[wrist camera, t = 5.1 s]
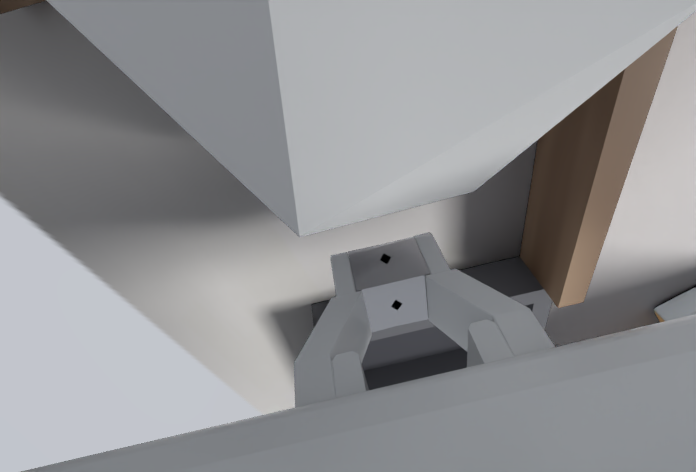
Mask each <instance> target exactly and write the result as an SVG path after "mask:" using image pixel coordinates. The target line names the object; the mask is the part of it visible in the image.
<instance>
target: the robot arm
mask: <svg viewBox="0 0 696 472" xmlns="http://www.w3.org/2000/svg"><path fill="white" fill-rule="evenodd" d="M348 255H349V256H348ZM331 266H332V272H333V278H334V285H335V291H336V297H333V298H331V300H330V301H329V303H328V305H327V307H326V308H325V310H324V312H323V313H322V315H321V317H320V319H319V320H318V322H317V324H316V326H315V327H314V329H313V331H312V333H311V334H310V336H309V338H308V340H307V341H306V343H305V345H304V347H303V348H302V350H301V352H300V354H299V355H298V357H297V359H296V360H295V362H294V378H295V408H291V409H287V410H283V411H278V412H274V413H270V414H266V415H261V416H257V417H253V418H249V419H244V420H240V421H236V422H231V423H227V424H223V425H219V426H214V427H210V428H206V429H201V430H197V431H193V432H188V433H184V434H180V435H176V436H171V437H167V438H163V439H158V440H154V441H150V442H146V443H141V444H137V445H133V446H128V447H124V448H120V449H115V450H111V451H107V452H103V453H98V454H94V455H90V456H86V457H81V458H77V459H73V460H68V461H64V462H60V463H56V464H51V465H47V466H43V467H38V468H34V469H30V470H26V471H21V472H696V314H694V315H690V316H686V317H681V318H677V319H673V320H668V321H664V322H660V323H655V324H651V325H647V326H643V327H638V328H634V329H630V330H625V331H621V332H617V333H613V334H608V335H604V336H600V337H595V338H591V339H587V340H583V341H578V342H574V343H570V344H565V345H561V346H557V347H555V346H554V344H553V343H552V341H551V340H550V338H549V337H548V335H547V334H546V332H545V331H544V329H543V328H542V326H541V325H540V323H539V322H538V320H537V319H536V317H535V316H534V314H533V313H532V311H531V310H530V308H528V307H526V306H524V305H522V304H521V303H519V302H517V301H515V300H513V299H511V298H509V297H507V296H506V295H504V294H502V293H500V292H498V291H496V290H494V289H493V288H491V287H489V286H487V285H485V284H483V283H481V282H480V281H478V280H476V279H474V278H472V277H470V276H468V275H467V274H465V273H463V272H461V271H459V270H457V269H452V270H450V268H449V266H448V264H447V262H446V260H445V258H444V256H443V254H442V252H441V250H440V248H439V246H438V244H437V242H436V240H435V239H434V237H433V235H432V234H431V233H430V232H428V233H425V234H421V235H417V236H413V237H410V238H406V239H402V240H397V241H393V242H389V243H385V244H381V245H377V246H372V247H367V248H362V249H358V250H353V251H348V252H345V253H340V254H336V255H331ZM427 319H429V321H430V322H431V323H433V324H434V325H435V326H436V327H437V328H439V329H440V330H441V331H442V332H444V333H445V334H446V335H447V336H448V337H450V338H451V339H452V340H453V341H455V342H456V343H457V344H458V345H459V346H461V347H462V348H463V349H464V350H466V351H467V368H463V369H459V370H455V371H450V372H446V373H442V374H437V375H433V376H429V377H424V378H420V379H416V380H412V381H407V382H403V383H399V384H394V385H390V386H386V387H381V388H377V389H373V390H369V388H368V385H367V381H366V378H365V374H364V371H363V367H362V361H363V358H364V355H365V353H366V350H367V347H368V344H369V342H370V339H371V336H372V332H376V331H379V330H383V329H387V328H391V327H395V326H398V325H403V324H408V323H413V322H417V321H422V320H427Z"/></svg>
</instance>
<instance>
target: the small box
mask: <svg viewBox="0 0 696 472" xmlns="http://www.w3.org/2000/svg"><path fill="white" fill-rule="evenodd" d="M654 312H655V314H656V316H657V318H658V319H659V321H660V322H664V321H668V320H673V319H677V318H681V317H686V316H690V315H694V314H696V287H694V288H692V289H690V290H689V291H687V292H685V293H683V294H681V295H679V296H677V297H675V298H673V299H671V300H669V301H667V302H665V303H663V304H661V305H659V306H657V307H656V308H655V309H654Z"/></svg>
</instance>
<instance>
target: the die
mask: <svg viewBox="0 0 696 472" xmlns="http://www.w3.org/2000/svg"><path fill="white" fill-rule="evenodd" d="M46 1H47V2H49V3H50V4H51V5H52V6H53V7H54V8H55V9H56V10H57V11H58V12H59V13H60V14H61V15H62V16H64V17H65V18H66V19H67V20H68V21H69V22H70V23H71V24H72V25H73V26H74V27H75V28H76V29H77V30H78V31H80V32H81V33H82V34H83V35H84V36H85V37H86V38H87V39H88V40H89V41H90V42H91V43H92V44H93V45H95V46H96V47H97V48H98V49H99V50H100V51H101V52H102V53H103V54H104V55H105V56H106V57H107V58H108V59H110V60H111V61H112V62H113V63H114V64H115V65H116V66H117V67H118V68H119V69H120V70H121V71H122V72H123V73H125V74H126V75H127V76H128V77H129V78H130V79H131V80H132V81H133V82H134V83H135V84H136V85H137V86H138V87H139V88H141V89H142V90H143V91H144V92H145V93H146V94H147V95H148V96H149V97H150V98H151V99H152V100H153V101H154V102H156V103H157V104H158V105H159V106H160V107H161V108H162V109H163V110H164V111H165V112H166V113H167V114H168V115H169V116H171V117H172V118H173V119H174V120H175V121H176V122H177V123H178V124H179V125H180V126H181V127H182V128H183V129H184V130H185V131H187V132H188V133H189V134H190V135H191V136H192V137H193V138H194V139H195V140H196V141H197V142H198V143H199V144H200V145H202V146H203V147H204V148H205V149H206V150H207V151H208V152H209V153H210V154H211V155H212V156H213V157H214V158H215V159H217V160H218V161H219V162H220V163H221V164H222V165H223V166H224V167H225V168H226V169H227V170H228V171H229V172H230V173H232V174H233V175H234V176H235V177H236V178H237V179H238V180H239V181H240V182H241V183H242V184H243V185H244V186H245V187H246V188H248V189H249V190H250V191H251V192H252V193H253V194H254V195H255V196H256V197H257V198H258V199H259V200H260V201H261V202H263V203H264V204H265V205H266V206H267V207H268V208H269V209H270V210H271V211H272V212H273V213H274V214H275V215H276V216H278V217H279V218H280V219H281V220H282V221H283V222H284V223H285V224H286V225H287V226H288V227H289V228H290V229H291V230H292V231H294V232H295V233H296V234H297V235H298V236H299V237H303V236H307V235H310V234H314V233H318V232H322V231H326V230H330V229H333V228H337V227H341V226H345V225H349V224H352V223H356V222H360V221H364V220H368V219H371V218H375V217H379V216H383V215H387V214H390V213H394V212H398V211H402V210H406V209H409V208H413V207H417V206H421V205H425V204H429V203H432V202H436V201H440V200H444V199H448V198H451V197H455V196H459V195H463V194H467V193H470V192H474V191H475V190H477V189H478V188H479V187H480V186H482V185H483V184H484V183H485V182H486V181H488V180H489V179H490V178H491V177H493V176H494V175H495V174H496V173H498V172H499V171H500V170H501V169H502V168H504V167H505V166H506V165H507V164H509V163H510V162H511V161H512V160H514V159H515V158H516V157H517V156H518V155H520V154H521V153H522V152H523V151H525V150H526V149H527V148H528V147H529V146H531V145H532V144H533V143H534V142H536V141H537V140H538V139H539V138H541V137H542V136H543V135H544V134H545V133H547V132H548V131H549V130H550V129H552V128H553V127H554V126H555V125H557V124H558V123H559V122H560V121H561V120H563V119H564V118H565V117H566V116H568V115H569V114H570V113H571V112H573V111H574V110H575V109H576V108H577V107H579V106H580V105H581V104H582V103H584V102H585V101H586V100H587V99H589V98H590V97H591V96H592V95H593V94H595V93H596V92H597V91H598V90H600V89H601V88H602V87H603V86H604V85H606V84H607V83H608V82H609V81H611V80H612V79H613V78H614V77H616V76H617V75H618V74H619V73H620V72H622V71H623V70H624V69H625V68H627V67H628V66H629V65H630V64H632V63H633V62H634V61H635V60H636V59H638V58H639V57H640V56H641V55H643V54H644V53H645V52H646V51H648V50H649V49H650V48H651V47H652V46H654V45H655V44H656V43H657V42H659V41H660V40H661V39H662V38H663V37H665V36H666V35H667V34H668V33H670V32H671V31H672V30H673V29H675V28H676V27H677V26H678V25H679V24H681V23H682V22H683V21H684V20H686V19H687V18H688V17H689V16H691V15H692V14H693V13H694V12H695V11H696V0H46Z"/></svg>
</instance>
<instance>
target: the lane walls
mask: <svg viewBox="0 0 696 472" xmlns="http://www.w3.org/2000/svg"><path fill="white" fill-rule="evenodd" d="M42 1H46V0H0V14H2V13H6V12H9V11H12V10H16V9H19V8H22V7H26V6H29V5H32V4H36V3H39V2H42ZM677 27H678V26H677ZM677 27H676V28H675V29H673V30H672V31H671V32H670V33H668V34H667V35H666V36H665V37H663V38H662V39H661V40H660V41H659V42H657V43H656V44H655V45H654V46H652V47H651V48H650V49H649V50H648V51H646V52H645V53H644V54H643V55H641V56H640V57H639V58H638V59H636V60H635V61H634V62H633V63H632V64H630V65H629V66H628V67H627V68H625V69H624V70H623V71H622V72H620V73H619V74H618V75H617V76H616V77H614V78H613V79H612V80H611V81H609V82H608V83H607V84H606V85H604V86H603V87H602V88H601V89H600V90H598V91H597V92H596V93H595V94H593V95H592V96H591V97H590V98H589V99H587V100H586V101H585V102H584V103H582V104H581V105H580V106H579V107H577V108H576V109H575V110H574V111H573V112H571V113H570V114H569V115H568V116H566V117H565V118H564V119H563V120H561V121H560V122H559V123H558V124H557V125H555V126H554V127H553V128H552V129H550V130H549V131H548V132H547V133H545V134H544V135H543V136H542V137H541V138H539V139H538V143H537V149H536V156H535V162H534V168H533V175H532V181H531V188H530V194H529V200H528V207H527V213H526V219H525V226H524V232H523V238H522V245H521V251H520V258H521V259H522V260H523V262H524V263H525V264H526V266H527V267H528V268H529V270H530V271H531V272H532V274H533V275H534V276H535V278H536V279H537V280H538V282H539V283H540V285H541V286H542V287H543V289H544V290H545V291H546V293H547V294H548V295H549V297H550V298H551V299H552V301H553V302H554V303H555V305H556V306H557V307H558V308H561V307H565V306H569V305H574V304H578V303H582V302H584V299H585V296H586V293H587V290H588V287H589V284H590V281H591V279H592V276H593V273H594V270H595V267H596V264H597V261H598V258H599V255H600V252H601V249H602V246H603V244H604V241H605V238H606V235H607V232H608V229H609V226H610V223H611V220H612V217H613V214H614V211H615V208H616V206H617V203H618V200H619V197H620V194H621V191H622V188H623V185H624V182H625V179H626V176H627V173H628V171H629V168H630V165H631V162H632V159H633V156H634V153H635V150H636V147H637V144H638V141H639V138H640V135H641V133H642V130H643V127H644V124H645V121H646V118H647V115H648V112H649V109H650V106H651V103H652V100H653V97H654V95H655V92H656V89H657V86H658V83H659V80H660V77H661V74H662V71H663V68H664V65H665V62H666V60H667V57H668V54H669V51H670V48H671V45H672V42H673V39H674V36H675V33H676V30H677Z"/></svg>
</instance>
